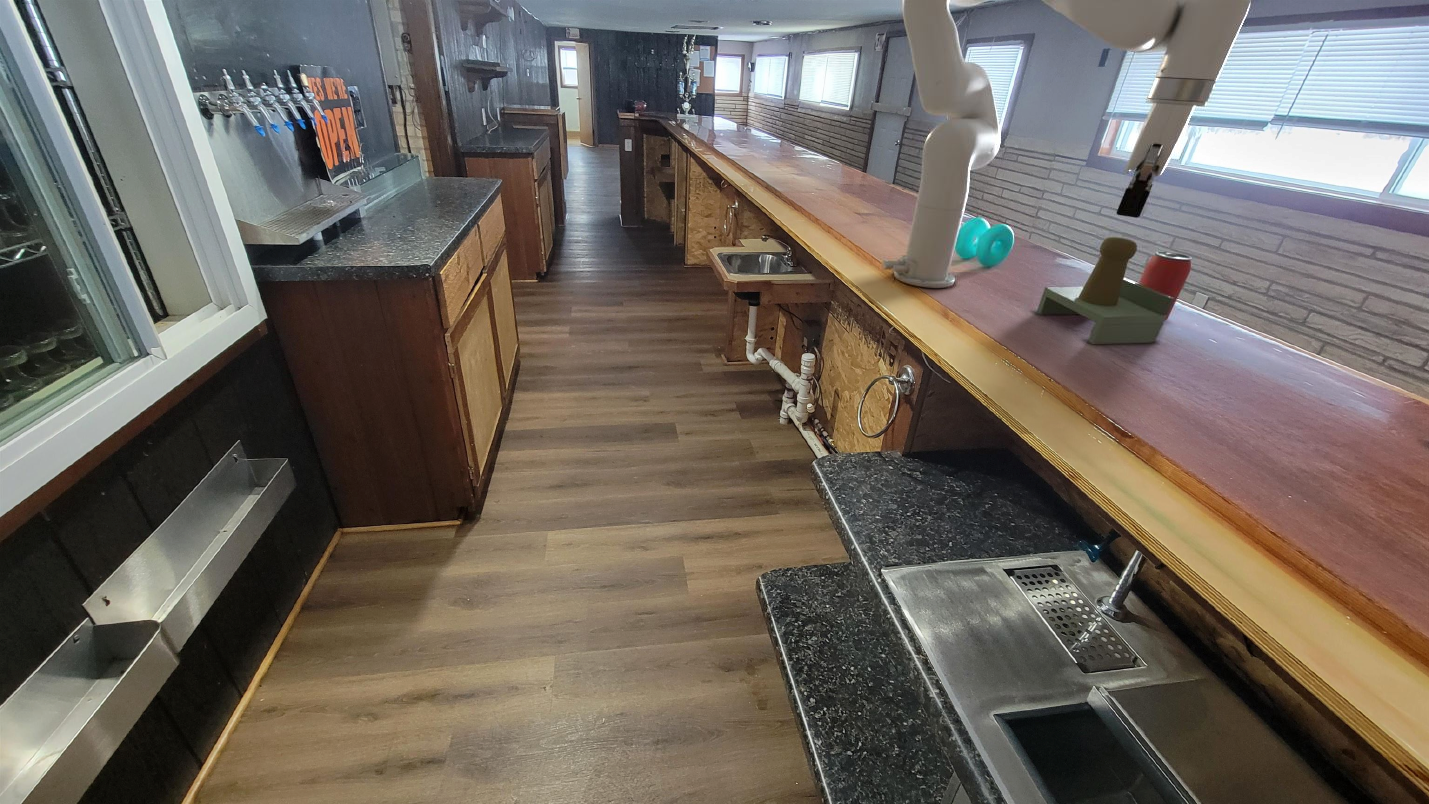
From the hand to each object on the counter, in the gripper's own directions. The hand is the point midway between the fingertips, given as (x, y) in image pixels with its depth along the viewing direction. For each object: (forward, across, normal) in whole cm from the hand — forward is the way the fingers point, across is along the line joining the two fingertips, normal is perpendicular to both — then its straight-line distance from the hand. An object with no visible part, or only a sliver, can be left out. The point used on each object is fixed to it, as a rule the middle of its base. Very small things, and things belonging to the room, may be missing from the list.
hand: (1129, 211), depth 93 cm
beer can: (+20, -14, +10) cm, 26 cm away
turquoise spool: (+21, -31, -26) cm, 46 cm away
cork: (+15, 0, +1) cm, 15 cm away
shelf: (+20, 0, +2) cm, 20 cm away
